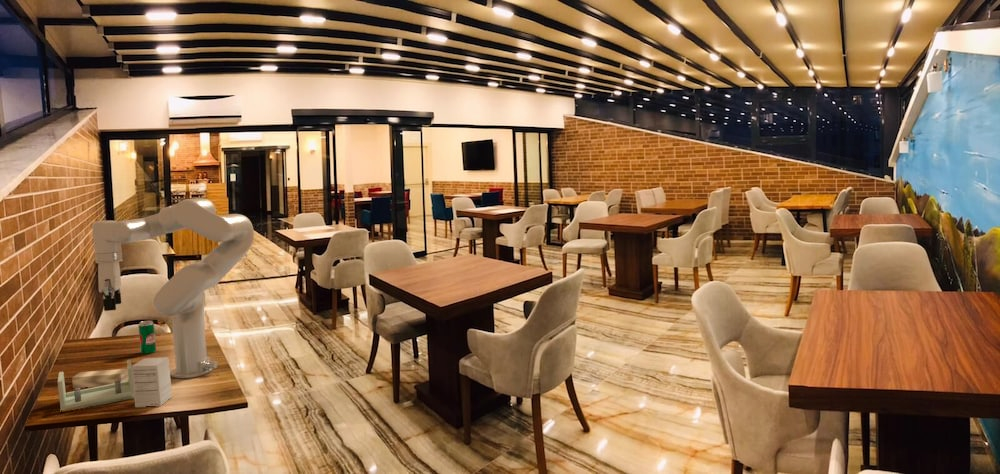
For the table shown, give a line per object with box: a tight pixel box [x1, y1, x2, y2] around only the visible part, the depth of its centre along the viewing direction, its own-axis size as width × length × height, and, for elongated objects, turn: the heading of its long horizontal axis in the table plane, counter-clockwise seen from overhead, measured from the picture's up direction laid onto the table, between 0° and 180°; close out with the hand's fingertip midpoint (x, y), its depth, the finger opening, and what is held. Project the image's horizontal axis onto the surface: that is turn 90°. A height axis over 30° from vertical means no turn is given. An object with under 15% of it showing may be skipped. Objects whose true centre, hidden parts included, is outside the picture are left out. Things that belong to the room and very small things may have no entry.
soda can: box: [137, 320, 157, 355], centre depth 215 cm, size 5×5×12 cm
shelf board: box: [71, 368, 129, 389], centre depth 183 cm, size 14×5×4 cm, turn 101°
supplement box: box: [131, 356, 173, 408], centre depth 167 cm, size 7×7×13 cm
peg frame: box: [57, 359, 134, 411], centre depth 170 cm, size 18×12×9 cm, turn 126°
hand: (113, 307), depth 191 cm, fingers open, 9 cm apart
